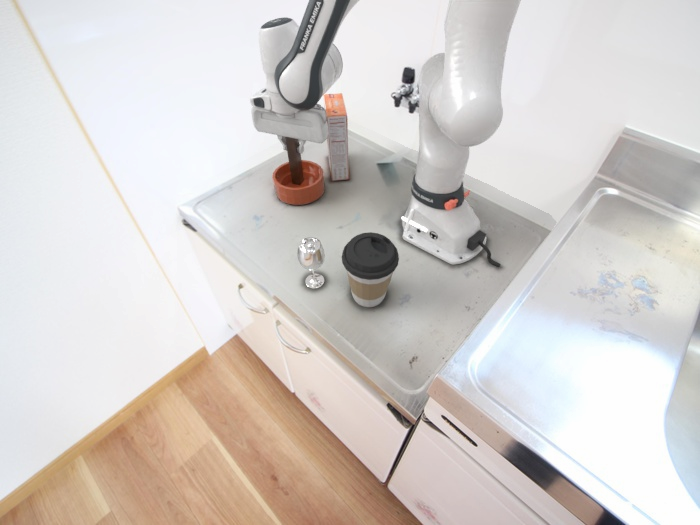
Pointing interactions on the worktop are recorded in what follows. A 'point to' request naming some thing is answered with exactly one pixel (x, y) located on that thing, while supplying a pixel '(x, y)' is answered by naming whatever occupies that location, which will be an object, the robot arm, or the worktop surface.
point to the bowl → (299, 193)
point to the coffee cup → (369, 267)
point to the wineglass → (311, 260)
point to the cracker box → (337, 136)
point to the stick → (294, 161)
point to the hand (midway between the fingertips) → (293, 150)
